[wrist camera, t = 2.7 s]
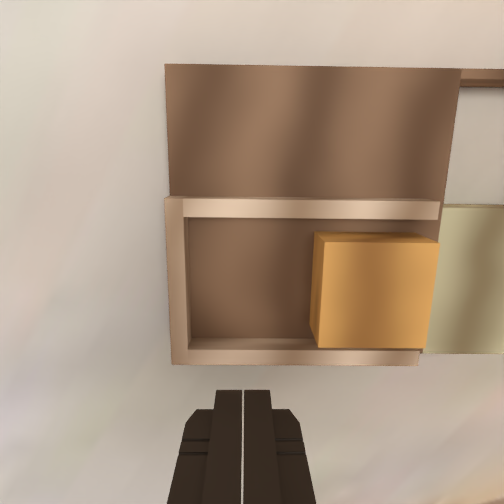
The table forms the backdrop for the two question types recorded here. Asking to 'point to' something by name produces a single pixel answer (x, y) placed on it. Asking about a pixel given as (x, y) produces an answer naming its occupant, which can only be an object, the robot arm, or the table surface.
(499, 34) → the table surface
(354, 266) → the ochre block
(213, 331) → the compartment board
